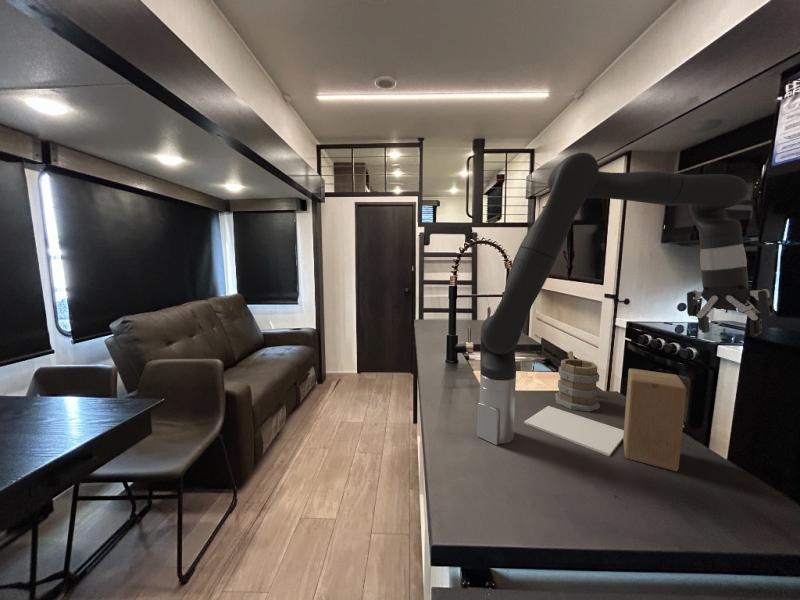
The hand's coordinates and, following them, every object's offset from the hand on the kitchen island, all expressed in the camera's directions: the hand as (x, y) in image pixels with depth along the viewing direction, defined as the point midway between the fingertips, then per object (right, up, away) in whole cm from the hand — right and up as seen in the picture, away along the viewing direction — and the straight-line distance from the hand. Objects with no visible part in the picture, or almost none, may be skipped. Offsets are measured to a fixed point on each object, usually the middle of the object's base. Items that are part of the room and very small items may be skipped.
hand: (729, 333), depth 76 cm
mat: (-28, -29, +16) cm, 43 cm away
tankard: (-17, -27, +37) cm, 49 cm away
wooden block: (-16, -31, +4) cm, 35 cm away
